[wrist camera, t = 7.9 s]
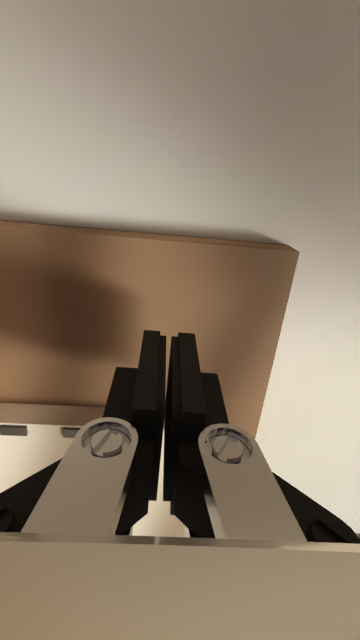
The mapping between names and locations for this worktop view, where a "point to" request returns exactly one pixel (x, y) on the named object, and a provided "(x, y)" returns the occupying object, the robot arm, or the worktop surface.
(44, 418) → the pad
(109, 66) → the worktop surface
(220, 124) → the worktop surface
